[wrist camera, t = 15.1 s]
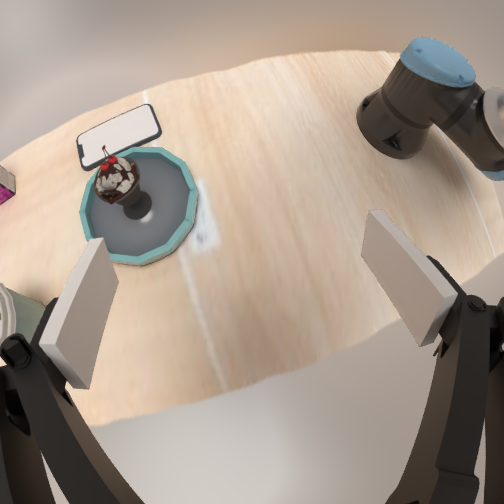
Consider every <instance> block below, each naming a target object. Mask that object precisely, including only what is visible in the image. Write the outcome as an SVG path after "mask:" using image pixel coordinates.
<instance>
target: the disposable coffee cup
mask: <svg viewBox="0 0 504 504" xmlns="http://www.w3.org/2000/svg"><path fill="white" fill-rule="evenodd" d="M45 309H46V308H45V307H44V306H43V304H41V303H38V302H36V301H34V300H32V299H29V298H27V297H25V296H23V295H21V294H18V293H16V292H14V291H12V290H10V289H8V288H6V287H5V286H4V285H3V283H0V346H1V344H2V342H3V341H4V340H5V339H6V338H7V337H8V336H10V335H12V334H14V333H20V334H23V336H24V337H25V339H26V340H27V341H28V343H29V344H30V342H31V340H32V337H33V335H34V333H35V331H36V328H37V326H38V324H40V323H39V322H40V320H41V317H43V313H44V311H45Z"/></svg>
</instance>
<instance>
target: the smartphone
mask: <svg viewBox="0 0 504 504" xmlns="http://www.w3.org/2000/svg"><path fill="white" fill-rule="evenodd" d="M161 134H162V131H161V128H160V125H159V123H158V120H157V118H156V115H155V113H154V110H153V108H152V106H151V105H150V104H144V105H142V106H139V107H137V108H134V109H132V110H130V111H128V112H125V113H123V114H121V115H119V116H116V117H114V118H112V119H110V120H108V121H106V122H104V123H102V124H100V125H98V126H96V127H94V128H92V129H90V130H88V131H86V132H84V133H82V134H80V135H79V136H78V137H77V140H76V142H77V148H78V153H79V158H80V163H81V167H82V168H83V169H84V170H85V171H90V170H92V169H94V168H96V167H98V166H100V165H101V164H102V163H103V162H104V161H105V154H106V160H107V159H108V158H109V155H110V156H112V155H114V156H115V155H117V154H119V153H121V152H123V151H125V150H128V149H130V148H132V147H139V146H141V145H143V144H146V143H148V142H150V141H152V140H155V139H157V138H159V137H160V136H161ZM104 145H105V146H106V148H105V149H106V151H107V152H108V153H109V155H108V154H107V153H106V151H105V150H104V152H105V154H104V152H103V150H102V147H103V146H104Z"/></svg>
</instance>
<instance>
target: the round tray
mask: <svg viewBox="0 0 504 504" xmlns="http://www.w3.org/2000/svg"><path fill="white" fill-rule="evenodd" d="M115 156H116V157H129V158H131V159H133V160H134V161H135V162H136V164H137V165H138V167H139V171H140V182H139V185H140V190H141V191H144V192H146V193H148V194H149V196H150V197H151V200H152V206H151V209H150V211H149V213H148V214H147V215H146V216H145V217H143V218H141V219H138V220H133V219H130V218H128V217H127V216H126V215H125V213H124V211H123V206H122V205H119V204H117V203H113V204H112V205H111V204H109V203H106V202H104V201H102V200H101V199H100V198H98V196H97V195H96V193H95V191H94V180H95V176H96V173H97V171H98V170H99V169H98V170H97V171H96V172H95V174H94V175H93V176H92V177H91V179H90V180H89V181H88V182H87V184H86V188H85V192H84V195H83V199H82V203H81V207H80V211H79V213H80V218H81V222H82V226H83V230H84V233H85V237H86V240H87V241H88V242H89V240H90V239H96V238H104V241H105V244H106V247H107V250H108V253H109V256H110V259H111V262H116V263H122V264H127V265H139V266H143V265H146V264H150V263H153V262H156V261H158V260H160V259H162V258H164V257H166V256H168V255H169V254H170V253H172V252H173V251H174V250H175V249H176V248H178V247H179V246H180V244H181V243H182V242H183V241H184V240H185V238H186V237H187V235H188V234H189V232H190V230H191V228H192V226H193V224H194V220H195V216H196V211H197V198H198V192H197V188H196V186H195V184H194V181H193V179H192V177H191V174H190V172H189V170H188V167H187V165H186V163H185V162H184V161H182V160H181V159H179V158H178V157H176V156H175V155H173V154H172V153H170V152H168V151H167V150H165V149H164V148H162V147H132V148H130V149H128V150H125V151H123V152H121V153H119V154H117V155H115ZM107 160H108V159H107ZM107 160H106V161H107Z"/></svg>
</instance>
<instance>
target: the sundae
mask: <svg viewBox="0 0 504 504" xmlns="http://www.w3.org/2000/svg"><path fill="white" fill-rule="evenodd" d="M105 148H106V146H105V145H104V146H103V147H102V150H103V152H104V150H105V151H106V149H105ZM106 153H107V154H108V155H109V153H108V152H107V151H106ZM104 154H105V152H104ZM139 182H140V171H139V167H138V165H137V164H136V162H135V161H134V160H133V159H131V158H129V157H116V156H114V155H112V156H110V155H109V158H108V160H107V161H106V154H105V161H104V162H103V163H102V164H101V166H100V168H99V170H98V171H97V173H96V176H95V180H94V191H95V193H96V195H97V196H98V198H100V199H101V200H102V201H104V202H106V203H109V204H111V205H112V204H113V203H117V204H119V205H122V206H123V211H124V213H125V215H126V216H127V217H128V218H130V219H133V220H138V219H141V218H143V217H145V216H146V215H147V214H148V213H149V211H150V209H151V206H152V200H151V197H150V196H149V194H148V193H146V192H144V191H141V190H140V185H139Z"/></svg>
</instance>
